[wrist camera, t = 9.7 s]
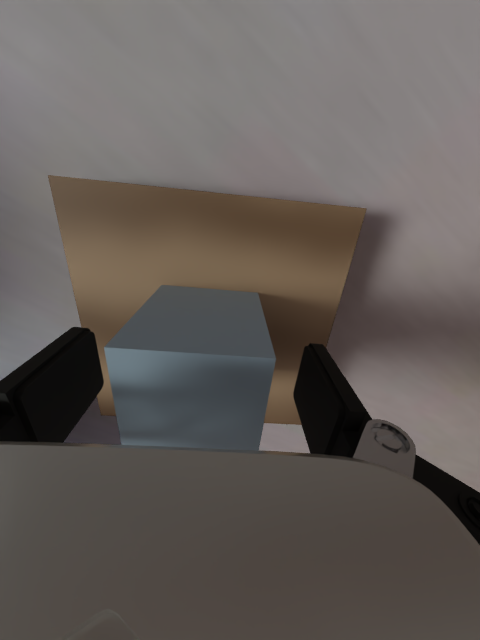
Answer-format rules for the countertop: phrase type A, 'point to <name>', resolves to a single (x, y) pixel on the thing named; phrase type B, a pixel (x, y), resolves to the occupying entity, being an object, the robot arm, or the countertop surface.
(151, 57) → the countertop surface
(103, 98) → the countertop surface
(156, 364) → the slate block
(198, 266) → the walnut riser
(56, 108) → the countertop surface
